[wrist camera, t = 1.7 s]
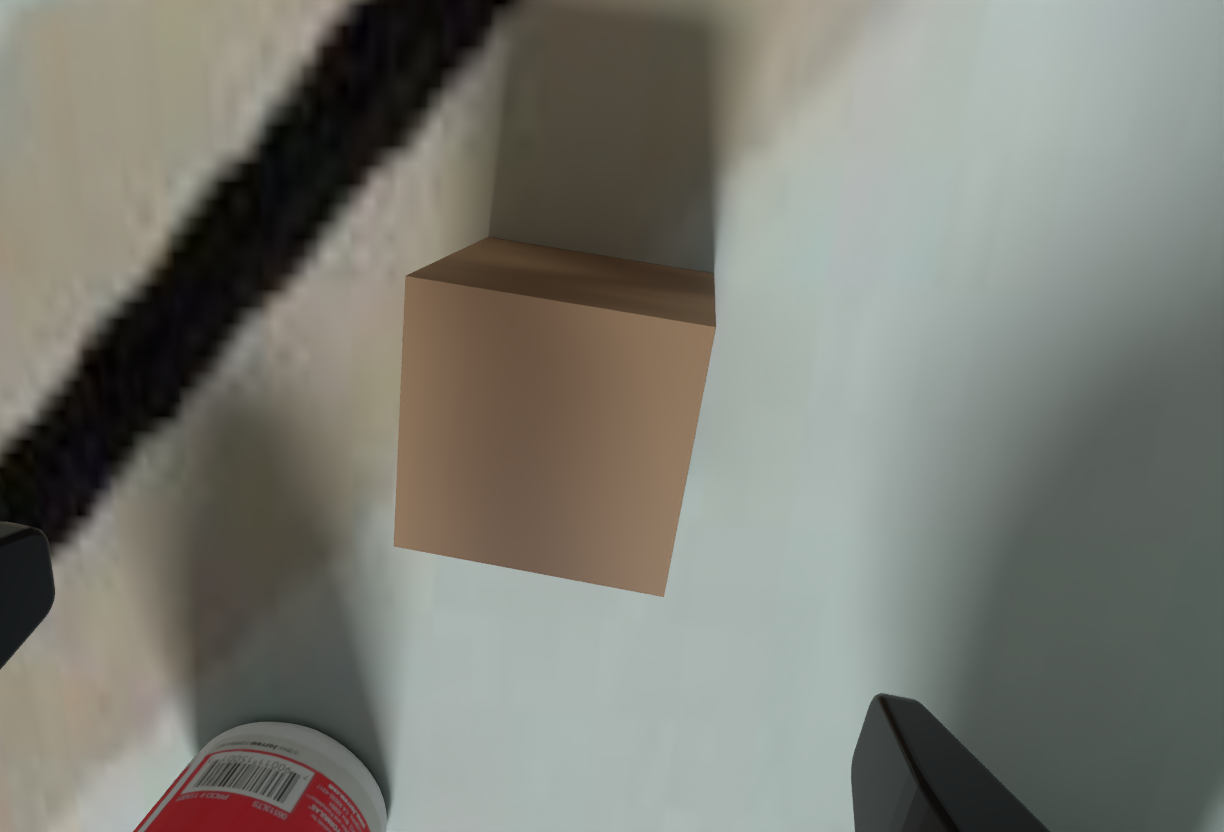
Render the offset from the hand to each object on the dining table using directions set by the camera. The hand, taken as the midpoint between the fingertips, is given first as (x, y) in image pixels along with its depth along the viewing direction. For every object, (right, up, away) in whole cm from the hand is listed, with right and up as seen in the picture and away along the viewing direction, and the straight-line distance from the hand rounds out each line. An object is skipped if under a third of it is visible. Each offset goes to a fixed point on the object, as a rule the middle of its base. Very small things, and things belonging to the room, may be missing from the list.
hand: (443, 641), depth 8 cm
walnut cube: (+1, +4, +10) cm, 10 cm away
